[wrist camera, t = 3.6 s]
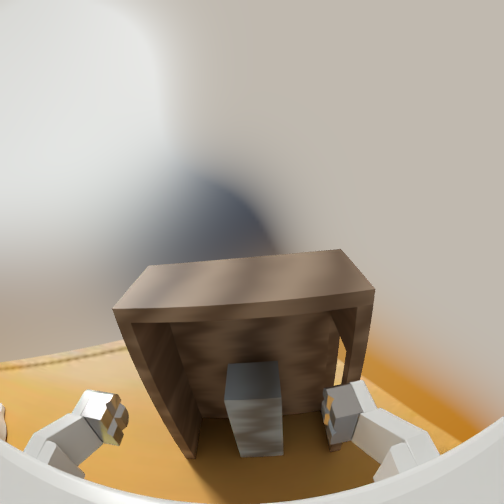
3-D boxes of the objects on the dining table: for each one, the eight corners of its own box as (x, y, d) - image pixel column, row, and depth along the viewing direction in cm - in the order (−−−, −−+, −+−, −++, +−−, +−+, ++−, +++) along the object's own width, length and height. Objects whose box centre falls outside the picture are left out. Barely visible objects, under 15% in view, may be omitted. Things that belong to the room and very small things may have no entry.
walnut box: (185, 458, 25) (112, 308, 17) (195, 411, 33) (148, 265, 25) (339, 450, 24) (375, 288, 17) (328, 402, 32) (340, 249, 25)
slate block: (240, 457, 25) (223, 400, 21) (242, 426, 30) (227, 363, 26) (283, 455, 25) (281, 397, 21) (280, 424, 30) (277, 360, 26)
